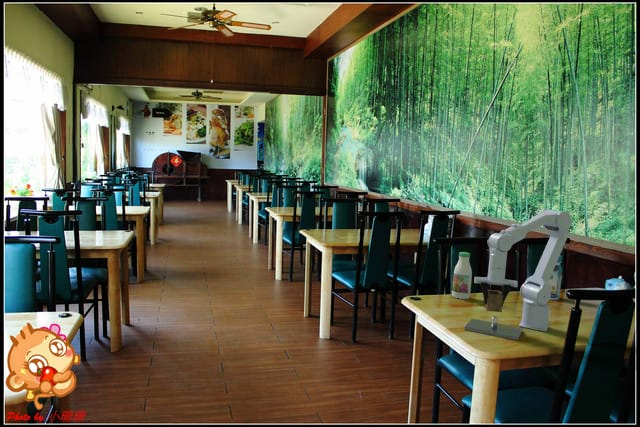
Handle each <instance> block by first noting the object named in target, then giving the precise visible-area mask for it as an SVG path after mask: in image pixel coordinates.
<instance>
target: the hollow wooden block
mask: <svg viewBox="0 0 640 427" xmlns="http://www.w3.org/2000/svg"><path fill="white" fill-rule="evenodd" d="M502 304H503V294H502V290H494V289H493V290H492V289H488V293H487V304H484V308H485V311H487V312H495V313H502V312H503V306H502ZM503 305H504V304H503Z"/></svg>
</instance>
